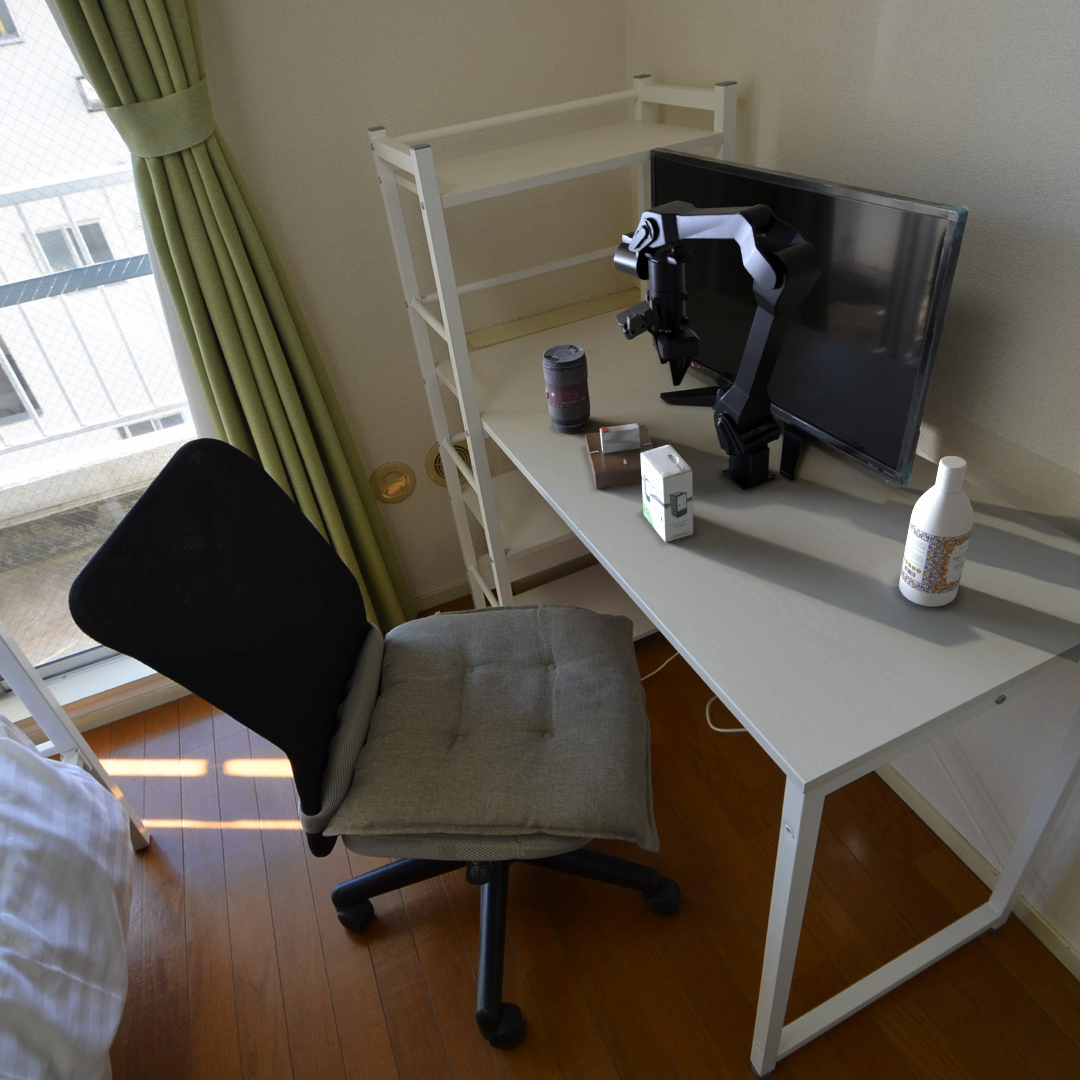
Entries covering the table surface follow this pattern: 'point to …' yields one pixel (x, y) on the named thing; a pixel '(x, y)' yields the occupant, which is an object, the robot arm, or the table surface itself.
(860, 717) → the table surface
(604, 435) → the small grey box
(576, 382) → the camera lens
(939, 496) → the bath foam
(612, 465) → the brown flat block
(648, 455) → the ink box
